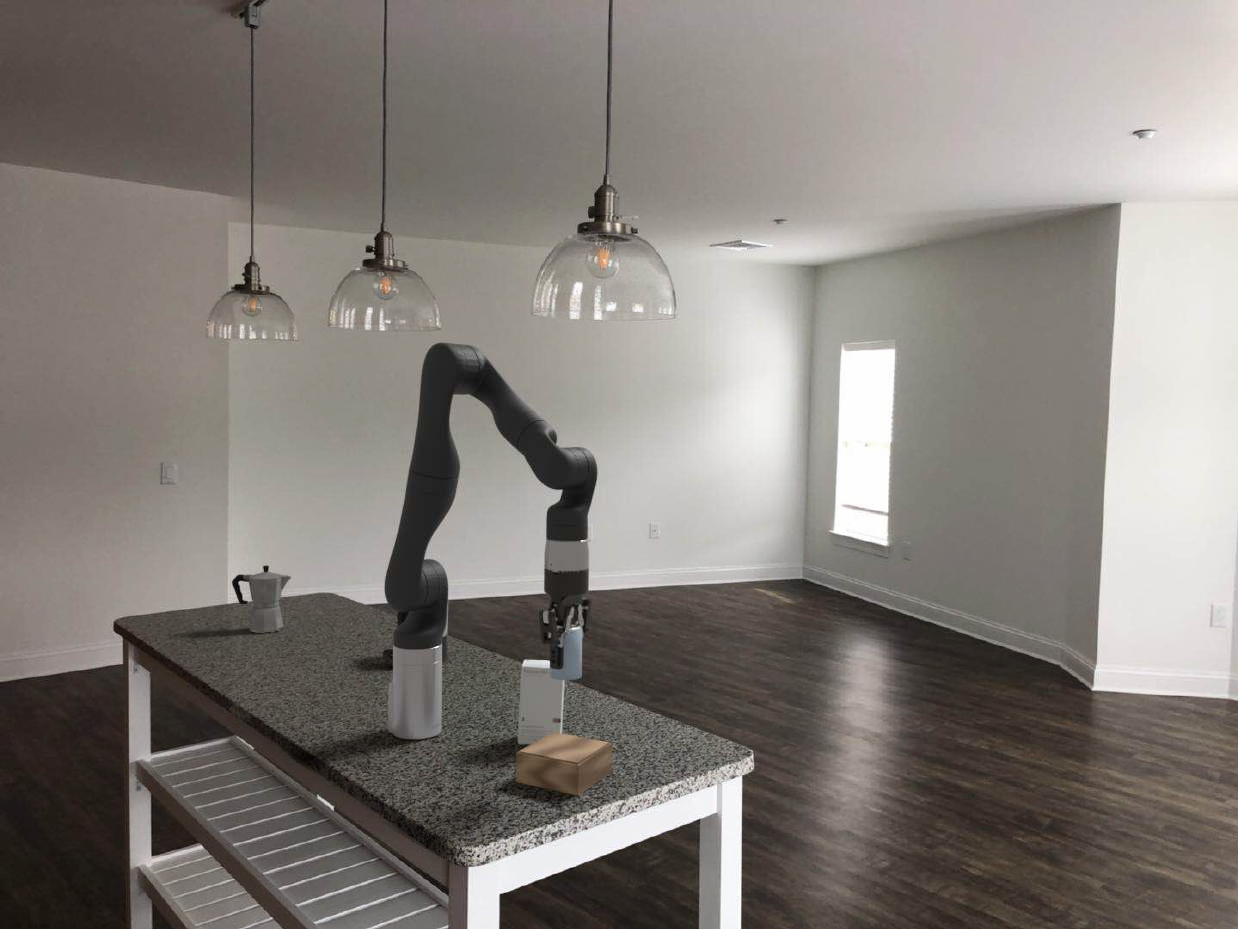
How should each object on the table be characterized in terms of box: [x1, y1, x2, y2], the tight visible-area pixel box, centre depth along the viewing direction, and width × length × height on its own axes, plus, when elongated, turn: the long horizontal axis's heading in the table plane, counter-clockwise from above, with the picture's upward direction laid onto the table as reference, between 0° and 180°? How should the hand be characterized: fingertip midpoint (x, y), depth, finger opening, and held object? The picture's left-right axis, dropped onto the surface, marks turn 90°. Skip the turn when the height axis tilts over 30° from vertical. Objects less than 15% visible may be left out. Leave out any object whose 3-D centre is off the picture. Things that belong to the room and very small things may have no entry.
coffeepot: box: [231, 565, 292, 631], centre depth 271 cm, size 15×9×18 cm, turn 103°
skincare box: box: [517, 659, 566, 745], centre depth 186 cm, size 8×6×15 cm
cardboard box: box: [515, 732, 613, 796], centre depth 168 cm, size 12×12×5 cm
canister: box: [550, 625, 583, 681], centre depth 166 cm, size 5×5×8 cm
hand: (565, 664), depth 167 cm, fingers closed on canister, 5 cm apart
